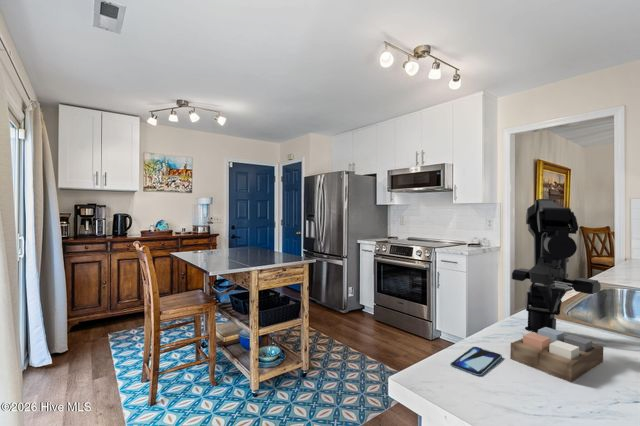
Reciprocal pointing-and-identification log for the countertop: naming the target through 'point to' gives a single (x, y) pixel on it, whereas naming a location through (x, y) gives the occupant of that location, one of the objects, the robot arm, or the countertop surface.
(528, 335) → the peach block
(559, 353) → the key
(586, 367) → the wooden sorting tray
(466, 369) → the smartphone
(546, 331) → the key
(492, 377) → the countertop surface
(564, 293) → the robot arm
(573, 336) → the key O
